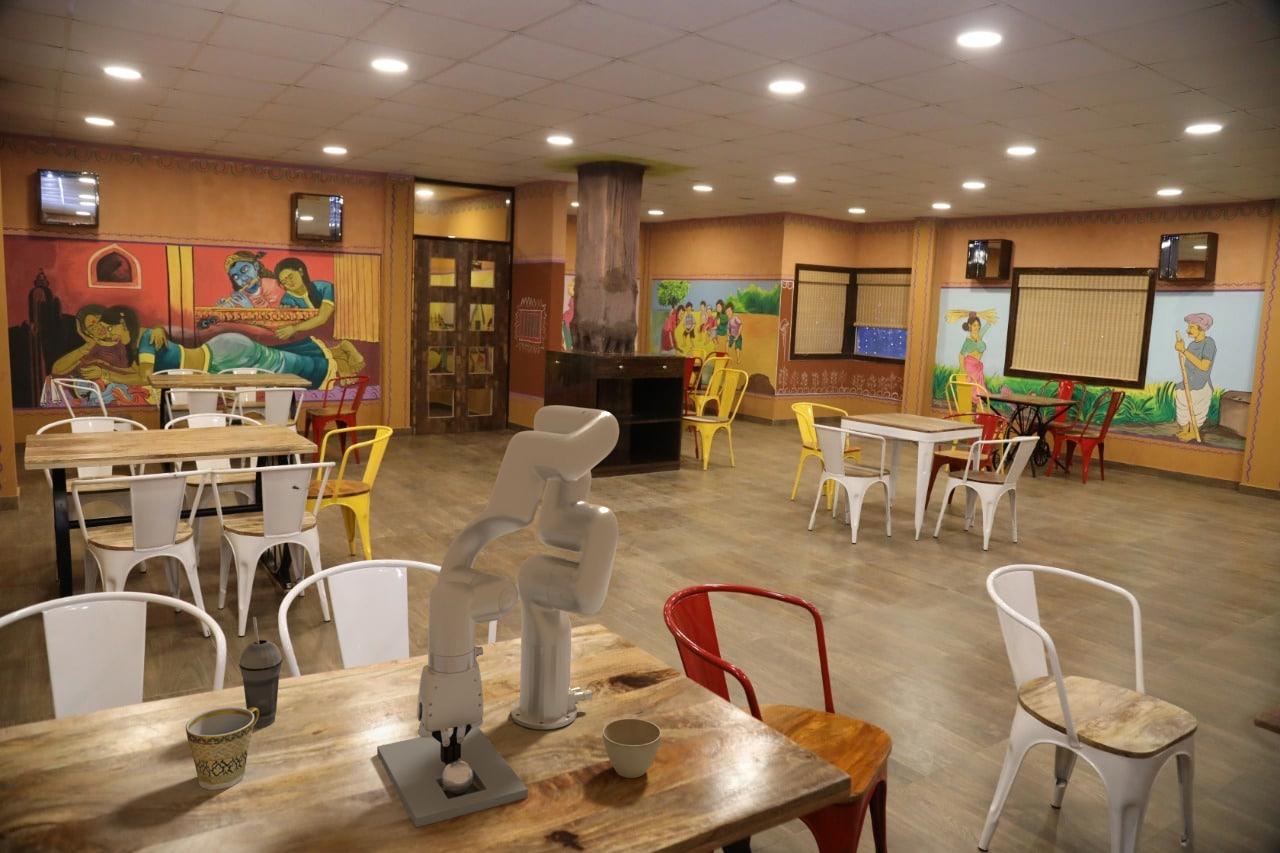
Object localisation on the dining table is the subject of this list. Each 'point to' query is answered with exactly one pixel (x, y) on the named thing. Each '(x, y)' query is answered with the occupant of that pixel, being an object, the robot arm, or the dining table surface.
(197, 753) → the ceramic cup
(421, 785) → the grey flat plate
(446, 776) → the ball
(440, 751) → the robot arm
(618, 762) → the flower pot
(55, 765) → the dining table surface
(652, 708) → the dining table surface
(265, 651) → the beverage cup
